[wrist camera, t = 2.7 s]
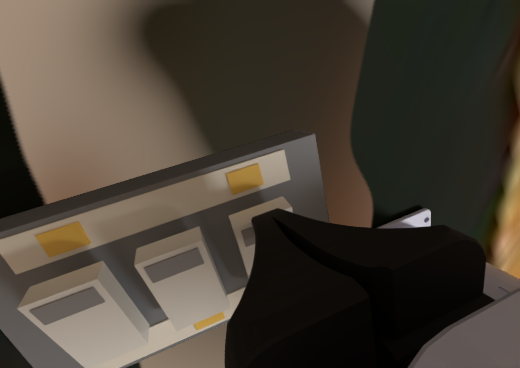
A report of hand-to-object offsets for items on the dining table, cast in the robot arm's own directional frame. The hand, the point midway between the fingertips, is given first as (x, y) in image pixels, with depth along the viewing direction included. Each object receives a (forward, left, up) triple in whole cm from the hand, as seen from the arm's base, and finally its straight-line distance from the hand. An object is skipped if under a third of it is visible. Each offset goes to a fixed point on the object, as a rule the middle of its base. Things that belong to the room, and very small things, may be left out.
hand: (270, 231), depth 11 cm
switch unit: (-2, +4, -6) cm, 8 cm away
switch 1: (-2, +9, -2) cm, 9 cm away
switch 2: (-2, +4, -2) cm, 5 cm away
